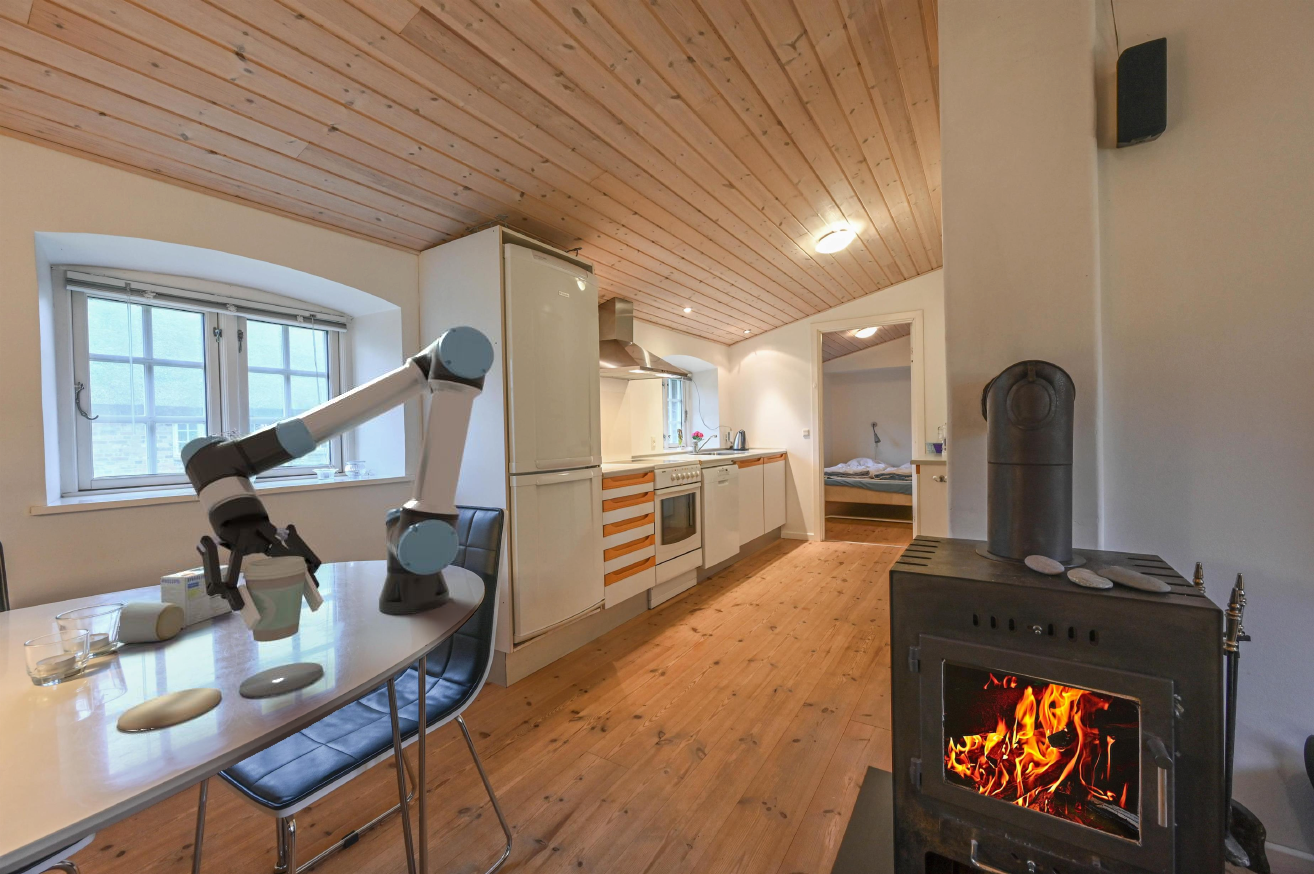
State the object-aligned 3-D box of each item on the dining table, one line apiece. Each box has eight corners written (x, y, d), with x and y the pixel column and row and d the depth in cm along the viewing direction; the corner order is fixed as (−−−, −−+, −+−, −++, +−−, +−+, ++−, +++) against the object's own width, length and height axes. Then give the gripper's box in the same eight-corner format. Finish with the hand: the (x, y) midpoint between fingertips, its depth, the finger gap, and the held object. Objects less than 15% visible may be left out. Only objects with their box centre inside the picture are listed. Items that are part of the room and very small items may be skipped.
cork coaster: (226, 684, 83) (226, 681, 83) (214, 714, 74) (214, 710, 74) (131, 705, 77) (131, 701, 77) (105, 740, 68) (105, 735, 68)
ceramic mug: (159, 645, 100) (159, 606, 100) (111, 649, 99) (111, 608, 99) (199, 627, 111) (199, 591, 111) (155, 630, 109) (155, 593, 110)
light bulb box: (208, 610, 122) (208, 564, 122) (233, 610, 121) (233, 564, 121) (159, 626, 111) (158, 576, 112) (186, 627, 111) (185, 576, 111)
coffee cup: (238, 636, 84) (237, 561, 84) (300, 622, 90) (300, 553, 90) (248, 650, 78) (248, 570, 78) (314, 634, 84) (314, 560, 84)
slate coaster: (322, 660, 92) (322, 657, 92) (323, 684, 83) (323, 680, 83) (244, 676, 86) (244, 673, 86) (234, 704, 77) (234, 700, 77)
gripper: (292, 515, 100) (344, 609, 93) (146, 533, 81) (196, 653, 74) (308, 489, 98) (362, 583, 91) (161, 501, 79) (214, 621, 72)
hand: (287, 614), depth 82 cm, fingers closed on coffee cup, 8 cm apart
